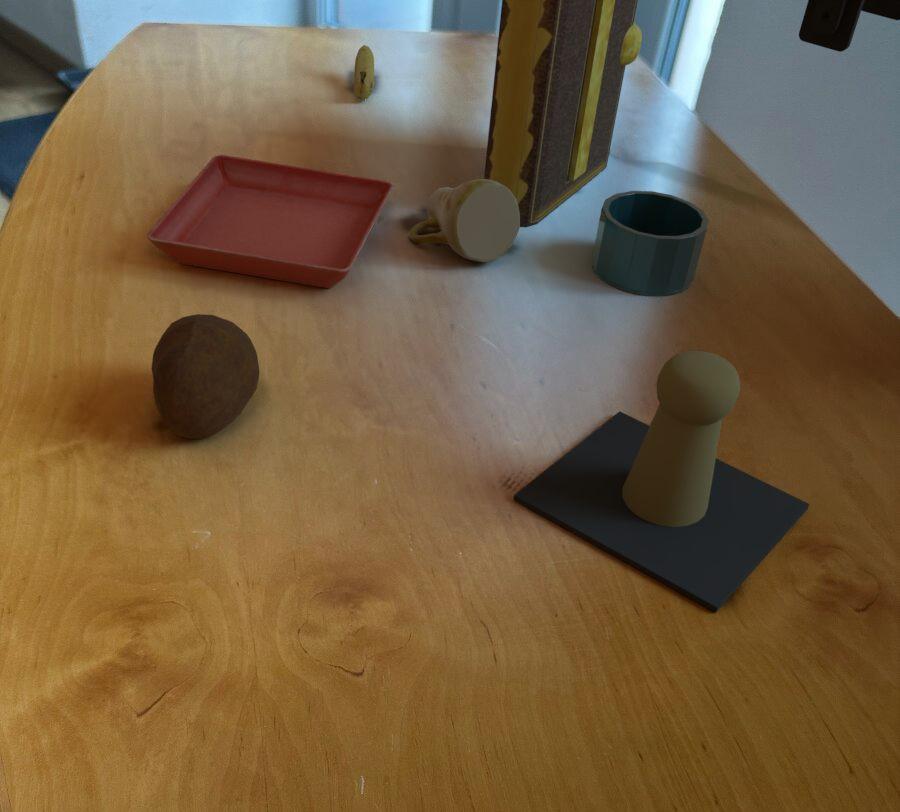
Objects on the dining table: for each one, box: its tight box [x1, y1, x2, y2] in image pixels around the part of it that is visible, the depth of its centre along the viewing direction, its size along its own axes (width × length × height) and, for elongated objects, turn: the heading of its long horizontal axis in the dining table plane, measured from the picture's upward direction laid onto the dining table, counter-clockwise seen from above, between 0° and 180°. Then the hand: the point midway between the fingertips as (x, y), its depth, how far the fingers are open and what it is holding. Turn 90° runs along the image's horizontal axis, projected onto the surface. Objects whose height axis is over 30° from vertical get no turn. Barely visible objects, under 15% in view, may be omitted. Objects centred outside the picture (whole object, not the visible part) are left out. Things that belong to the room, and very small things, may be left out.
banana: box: [353, 45, 375, 101], centre depth 121 cm, size 10×2×4 cm, turn 1°
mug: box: [407, 178, 521, 263], centre depth 95 cm, size 8×10×10 cm
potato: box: [151, 313, 260, 440], centre depth 72 cm, size 7×10×8 cm
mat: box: [513, 411, 810, 613], centre depth 72 cm, size 16×14×1 cm
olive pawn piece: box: [622, 350, 741, 527], centre depth 68 cm, size 6×6×11 cm
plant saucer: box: [146, 154, 395, 289], centre depth 93 cm, size 18×18×3 cm
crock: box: [591, 190, 710, 297], centre depth 94 cm, size 10×10×6 cm
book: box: [483, 0, 643, 228], centre depth 99 cm, size 22×8×25 cm, turn 150°
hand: (852, 29), depth 66 cm, fingers open, 9 cm apart
